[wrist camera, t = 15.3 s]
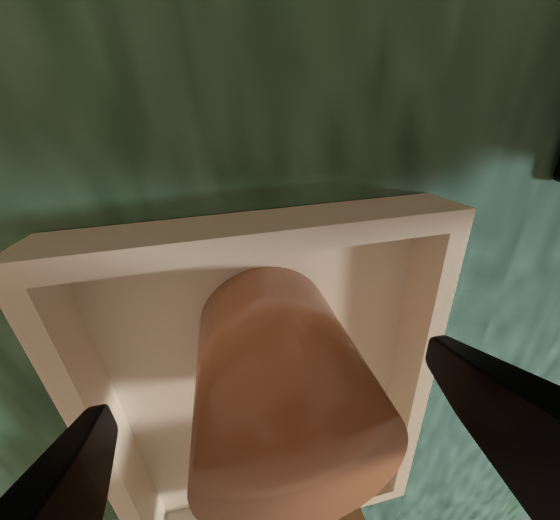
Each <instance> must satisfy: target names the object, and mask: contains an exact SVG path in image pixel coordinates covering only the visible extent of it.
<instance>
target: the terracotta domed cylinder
mask: <svg viewBox="0 0 560 520" xmlns="http://www.w3.org/2000/svg"><path fill="white" fill-rule="evenodd" d="M407 446H408V432H407V428H406V425H405V423H404V421H403V419H402V418H401V416H400V414H399V413H398V411H397V410H396V408H395V407H394V405H393V404H392V402H391V401H390V399H389V397H388V396H387V394H386V393H385V391H384V390H383V388H382V387H381V385H380V383H379V382H378V380H377V379H376V377H375V376H374V374H373V373H372V371H371V370H370V368H369V366H368V365H367V363H366V362H365V360H364V359H363V357H362V356H361V354H360V352H359V351H358V349H357V348H356V346H355V345H354V343H353V342H352V340H351V339H350V337H349V335H348V334H347V332H346V331H345V329H344V328H343V326H342V325H341V323H340V321H339V320H338V318H337V317H336V315H335V314H334V312H333V311H332V309H331V307H330V306H329V304H328V303H327V301H326V300H325V298H324V297H323V295H322V294H321V292H320V290H319V289H318V288H317V286H316V285H315V284H314V283H313V282H312V281H311V280H310V279H309V278H307V277H306V276H304V275H303V274H301V273H299V272H296V271H294V270H291V269H287V268H282V267H270V266H269V267H259V268H254V269H250V270H247V271H243V272H241V273H239V274H237V275H234V276H233V277H231V278H229V279H228V280H226V281H225V282H223V283H222V284H221V285H220V286H219V287H218V288H217V289H216V290H215V291H214V292H213V293H212V294H211V295H210V297H209V298H208V300H207V301H206V303H205V305H204V307H203V310H202V313H201V317H200V324H199V338H198V351H197V365H196V379H195V392H194V406H193V419H192V433H191V446H190V460H189V474H188V487H187V500H188V504H189V508H190V510H191V512H192V514H193V516H194V517H195V518H196V519H197V520H338V519H340V518H342V517H344V516H346V515H347V514H349V513H351V512H353V511H354V510H356V509H357V508H359V507H361V506H362V505H363V504H365V503H366V502H368V501H369V500H370V499H372V498H373V497H374V496H375V495H376V494H377V493H379V492H380V491H381V490H382V489H383V488H384V487H385V486H386V485H387V484H388V483H389V481H390V480H391V479H392V478H393V476H394V475H395V474H396V472H397V471H398V469H399V468H400V466H401V464H402V462H403V460H404V457H405V454H406V451H407Z"/></svg>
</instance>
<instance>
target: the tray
mask: <svg viewBox="0 0 560 520" xmlns="http://www.w3.org/2000/svg"><path fill="white" fill-rule="evenodd" d="M475 212H476V208H474V207H471V206H467V205H464V204H461V203H458V202H455V201H451V200H448V199H445V198H442V197H439V196H435V195H432V194H429V193H422V194H413V195H403V196H393V197H383V198H373V199H364V200H354V201H344V202H334V203H325V204H315V205H305V206H295V207H286V208H276V209H266V210H256V211H246V212H237V213H227V214H217V215H207V216H198V217H188V218H178V219H168V220H158V221H149V222H139V223H129V224H119V225H110V226H100V227H90V228H80V229H70V230H61V231H51V232H41V233H32V234H30V235H29V236H27V237H25V238H24V239H22V240H20V241H18V242H17V243H15V244H13V245H12V246H10V247H8V248H7V249H5V250H3V251H1V252H0V309H1V310H2V312H3V314H4V316H5V318H6V319H7V321H8V323H9V325H10V326H11V328H12V330H13V332H14V334H15V335H16V337H17V339H18V341H19V342H20V344H21V346H22V348H23V349H24V351H25V353H26V355H27V357H28V358H29V360H30V362H31V364H32V365H33V367H34V369H35V371H36V373H37V374H38V376H39V378H40V380H41V381H42V383H43V385H44V387H45V389H46V390H47V392H48V394H49V396H50V397H51V399H52V401H53V403H54V404H55V406H56V408H57V410H58V412H59V413H60V415H61V417H62V419H63V420H64V422H65V424H66V426H67V428H68V427H69V426H70V425H71V424H72V423H73V422H74V421H75V420H76V419H77V418H78V417H79V416H80V415H81V413H82V412H83V411H84V410H85V409H87V408H88V407H91V406H95V405H100V404H107V405H108V406H109V408H110V410H111V412H112V414H113V416H114V418H115V420H116V423H117V426H118V436H117V442H116V448H115V455H114V461H113V467H112V473H111V479H110V486H109V492H108V497H107V499H108V500H109V502H110V504H111V506H112V507H113V509H114V511H115V513H116V514H117V516H118V518H119V520H197V519H196V518H195V517H194V516H193V514H192V512H191V510H190V508H189V504H188V500H187V487H188V474H189V460H190V446H191V433H192V419H193V406H194V392H195V379H196V365H197V351H198V338H199V324H200V317H201V313H202V310H203V307H204V305H205V303H206V301H207V300H208V298H209V297H210V295H211V294H212V293H213V292H214V291H215V290H216V289H217V288H218V287H219V286H220V285H221V284H222V283H223V282H225V281H226V280H228V279H229V278H231V277H233V276H234V275H237V274H239V273H241V272H243V271H247V270H250V269H254V268H259V267H269V266H270V267H282V268H287V269H291V270H294V271H296V272H299V273H301V274H303V275H304V276H306V277H307V278H309V279H310V280H311V281H312V282H313V283H314V284H315V285H316V286H317V288H318V289H319V290H320V292H321V294H322V295H323V297H324V298H325V300H326V301H327V303H328V304H329V306H330V307H331V309H332V311H333V312H334V314H335V315H336V317H337V318H338V320H339V321H340V323H341V325H342V326H343V328H344V329H345V331H346V332H347V334H348V335H349V337H350V339H351V340H352V342H353V343H354V345H355V346H356V348H357V349H358V351H359V352H360V354H361V356H362V357H363V359H364V360H365V362H366V363H367V365H368V366H369V368H370V370H371V371H372V373H373V374H374V376H375V377H376V379H377V380H378V382H379V383H380V385H381V387H382V388H383V390H384V391H385V393H386V394H387V396H388V397H389V399H390V401H391V402H392V404H393V405H394V407H395V408H396V410H397V411H398V413H399V414H400V416H401V418H402V419H403V421H404V423H405V425H406V428H407V432H408V446H407V451H406V454H405V457H404V460H403V462H402V464H401V466H400V468H399V469H398V471H397V472H396V474H395V475H394V476H393V478H392V479H391V480H390V481H389V483H388V484H387V485H386V486H385V487H384V488H383V489H382V490H381V491H380V492H379V493H377V494H376V495H375V496H374V497H373V498H372V499H370V500H369V501H368V502H366V503H365V504H363V505H362V506H361V507H360V508H362V507H365V506H369V505H372V504H375V503H379V502H382V501H386V500H389V499H393V498H396V497H399V496H403V495H404V493H405V489H406V485H407V481H408V477H409V473H410V469H411V465H412V461H413V457H414V453H415V449H416V445H417V441H418V437H419V433H420V429H421V426H422V422H423V418H424V414H425V410H426V406H427V402H428V398H429V394H430V390H431V386H432V382H433V378H434V376H433V375H432V373H431V371H430V370H429V368H428V366H427V364H426V360H425V356H426V352H427V347H428V342H429V339H430V338H431V337H434V336H439V335H445V331H446V327H447V323H448V319H449V315H450V311H451V307H452V303H453V299H454V295H455V291H456V287H457V283H458V279H459V275H460V271H461V267H462V263H463V259H464V255H465V251H466V247H467V244H468V240H469V236H470V232H471V228H472V224H473V220H474V216H475Z"/></svg>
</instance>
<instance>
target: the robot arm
mask: <svg viewBox="0 0 560 520" xmlns="http://www.w3.org/2000/svg"><path fill="white" fill-rule="evenodd" d="M554 179H555V180H556V181H558V182H560V157H559V160H558V162H557V165H556V168H555V171H554ZM425 360H426V364H427V366H428V368H429V370H430V371H431V373H432V375H433V376H434V378H435V380H436V381H437V383H438V385H439V386H440V388H441V390H442V392H443V393H444V395H445V397H446V398H447V400H448V402H449V403H450V405H451V407H452V408H453V410H454V411H455V413H456V415H457V416H458V418H459V419H460V420H461V422H462V423H463V425H464V426H465V428H466V429H467V430H468V432H469V433H470V434H471V436H472V437H473V439H474V440H475V441H476V443H477V444H478V446H479V447H480V448H481V450H482V451H483V453H484V454H485V455H486V457H487V458H488V460H489V461H490V462H491V464H492V465H493V467H494V468H495V469H496V471H497V472H498V473H499V475H500V476H501V478H502V479H503V480H504V482H505V483H506V485H507V486H508V487H509V489H510V490H511V492H512V493H513V494H514V496H515V497H516V499H517V500H518V501H519V503H520V504H521V506H522V507H523V508H524V510H525V511H526V512H527V514H528V515H529V517H530V518H531V519H532V520H560V386H559V385H557V384H554V383H552V382H550V381H548V380H545V379H543V378H541V377H539V376H536V375H534V374H532V373H530V372H527V371H525V370H523V369H521V368H518V367H516V366H514V365H511V364H509V363H507V362H505V361H502V360H500V359H498V358H496V357H493V356H491V355H489V354H487V353H484V352H482V351H480V350H478V349H475V348H473V347H471V346H469V345H466V344H464V343H462V342H459V341H457V340H455V339H453V338H450V337H448V336H446V335H439V336H434V337H431V338H430V339H429V342H428V347H427V352H426V356H425ZM117 436H118V426H117V423H116V420H115V418H114V416H113V414H112V412H111V410H110V408H109V406H108V405H107V404H100V405H95V406H91V407H88V408H87V409H85V410H84V411H83V412H82V413H81V415H80V416H79V417H78V418H77V419H76V420H75V421H74V422H73V423H72V424H71V425H70V426H69V427H68V428H67V429H66V430H65V431H64V432H63V433H62V434H61V435H60V436H59V437H58V438H57V439H56V440H55V442H54V443H53V444H52V445H51V446H50V447H49V448H48V449H47V450H46V451H45V452H44V453H43V454H42V455H41V456H40V457H39V458H38V459H37V460H36V461H35V462H34V463H33V464H32V465H31V466H30V467H29V468H28V470H27V471H26V472H25V473H24V474H23V475H22V476H21V477H20V478H19V479H18V480H17V481H16V482H15V483H14V484H13V485H12V486H11V487H10V488H9V489H8V490H7V491H6V492H5V493H4V494H3V495H2V497H1V498H0V520H102V519H103V515H104V511H105V507H106V503H107V497H108V492H109V486H110V479H111V473H112V467H113V461H114V455H115V448H116V442H117Z"/></svg>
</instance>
